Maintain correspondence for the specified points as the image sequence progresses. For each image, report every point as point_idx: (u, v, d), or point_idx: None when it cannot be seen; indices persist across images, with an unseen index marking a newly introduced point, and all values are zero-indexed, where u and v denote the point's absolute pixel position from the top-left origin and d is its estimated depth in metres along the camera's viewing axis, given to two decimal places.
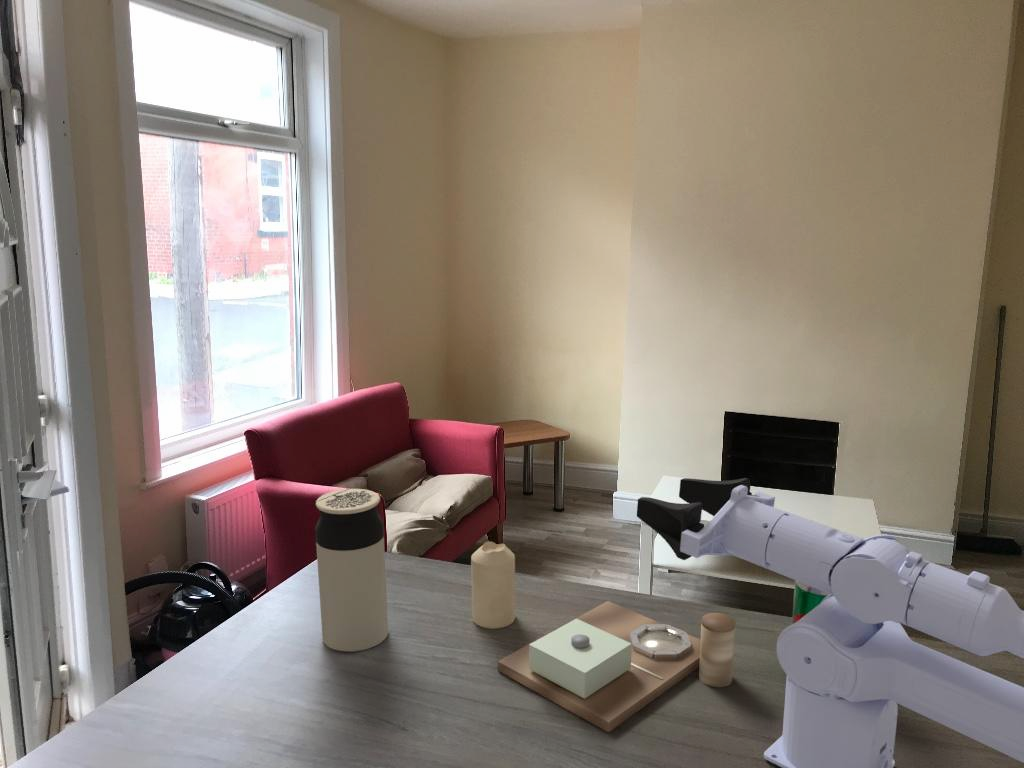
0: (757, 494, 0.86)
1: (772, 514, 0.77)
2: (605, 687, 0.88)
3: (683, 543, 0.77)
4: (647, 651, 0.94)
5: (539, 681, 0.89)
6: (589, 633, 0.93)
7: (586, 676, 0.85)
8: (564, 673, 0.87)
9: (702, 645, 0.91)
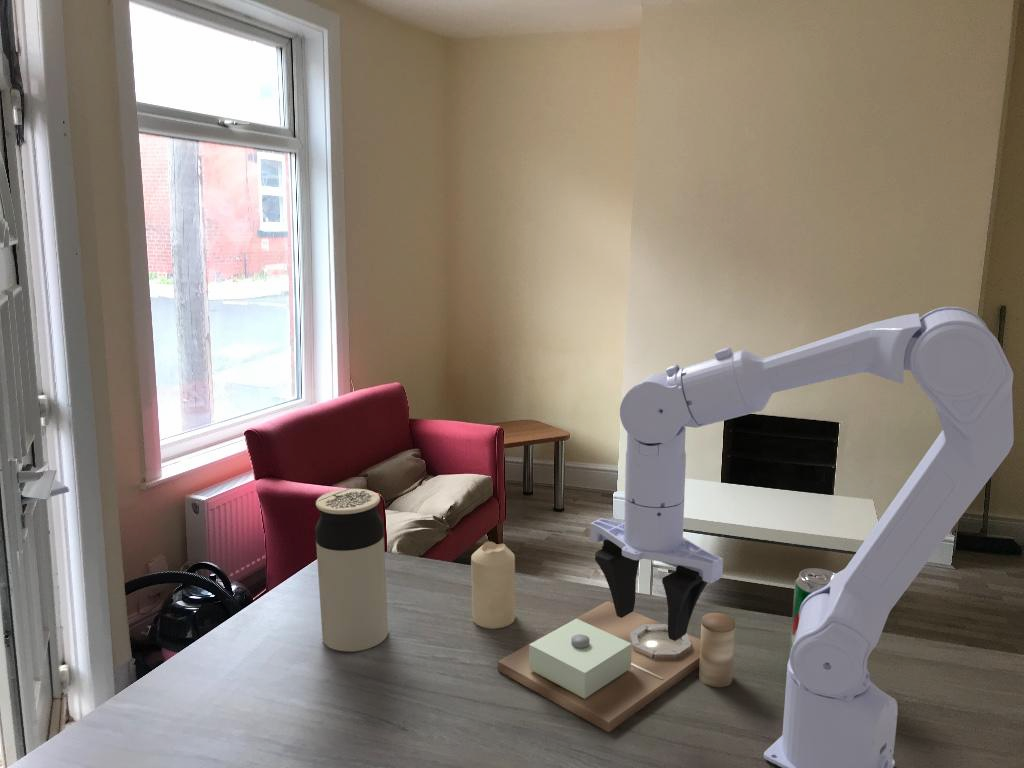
0: (596, 539, 0.85)
1: (643, 514, 0.78)
2: (605, 687, 0.88)
3: (717, 577, 0.76)
4: (647, 651, 0.94)
5: (539, 681, 0.89)
6: (589, 633, 0.93)
7: (586, 676, 0.85)
8: (564, 673, 0.87)
9: (702, 645, 0.91)
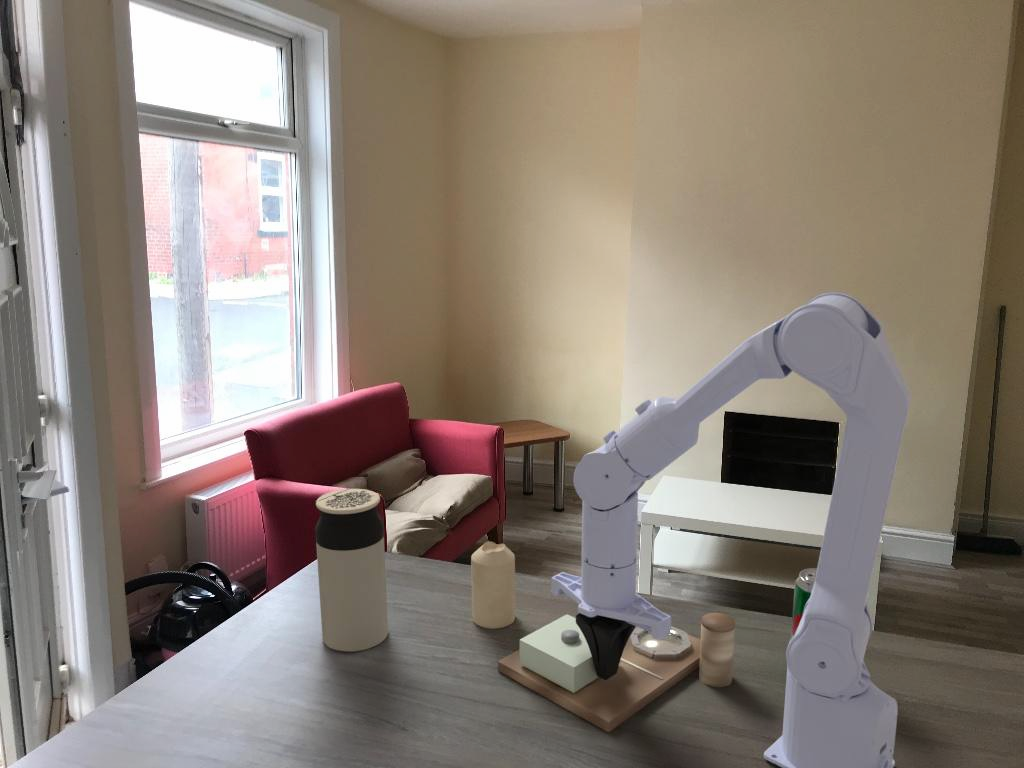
0: (556, 593, 0.91)
1: (597, 574, 0.83)
2: (605, 687, 0.88)
3: (665, 634, 0.82)
4: (647, 651, 0.94)
5: (539, 681, 0.89)
6: (579, 628, 0.94)
7: (575, 670, 0.86)
8: (554, 668, 0.88)
9: (702, 645, 0.91)
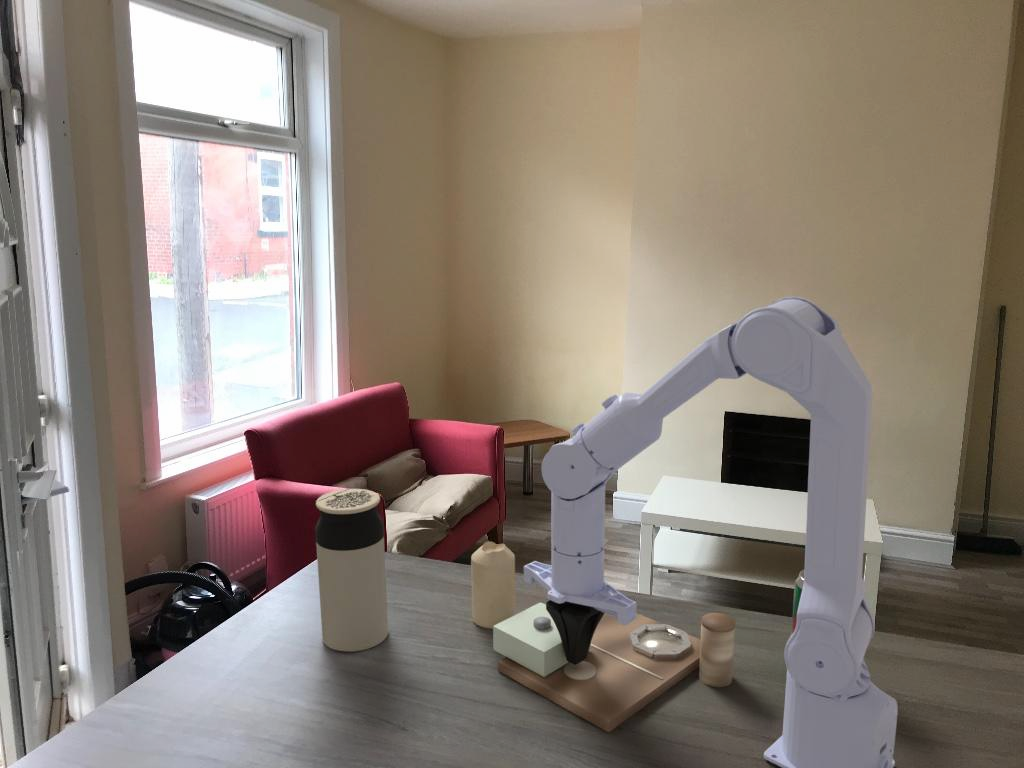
0: (528, 581, 0.93)
1: (565, 562, 0.86)
2: (605, 687, 0.88)
3: (631, 619, 0.85)
4: (647, 651, 0.94)
5: (539, 681, 0.89)
6: None
7: (546, 655, 0.89)
8: (525, 653, 0.91)
9: (702, 645, 0.91)
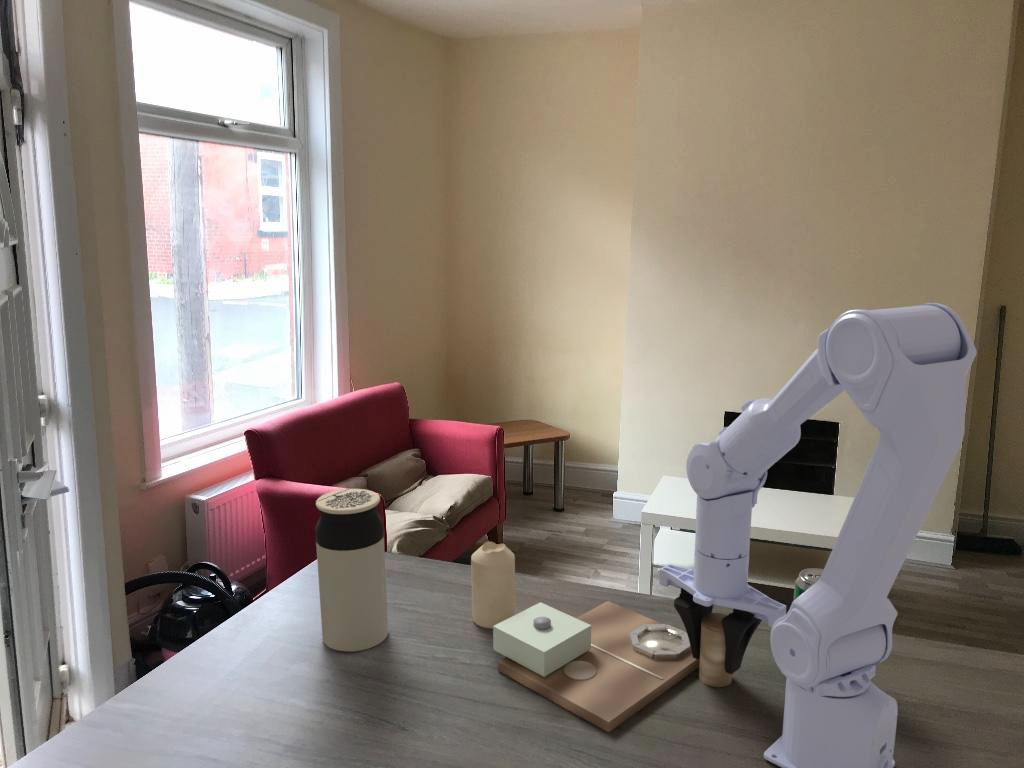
0: (665, 584, 0.94)
1: (713, 565, 0.86)
2: (605, 687, 0.88)
3: None
4: (647, 651, 0.94)
5: (539, 681, 0.89)
6: (551, 616, 0.97)
7: (546, 655, 0.89)
8: (525, 653, 0.91)
9: (702, 645, 0.91)
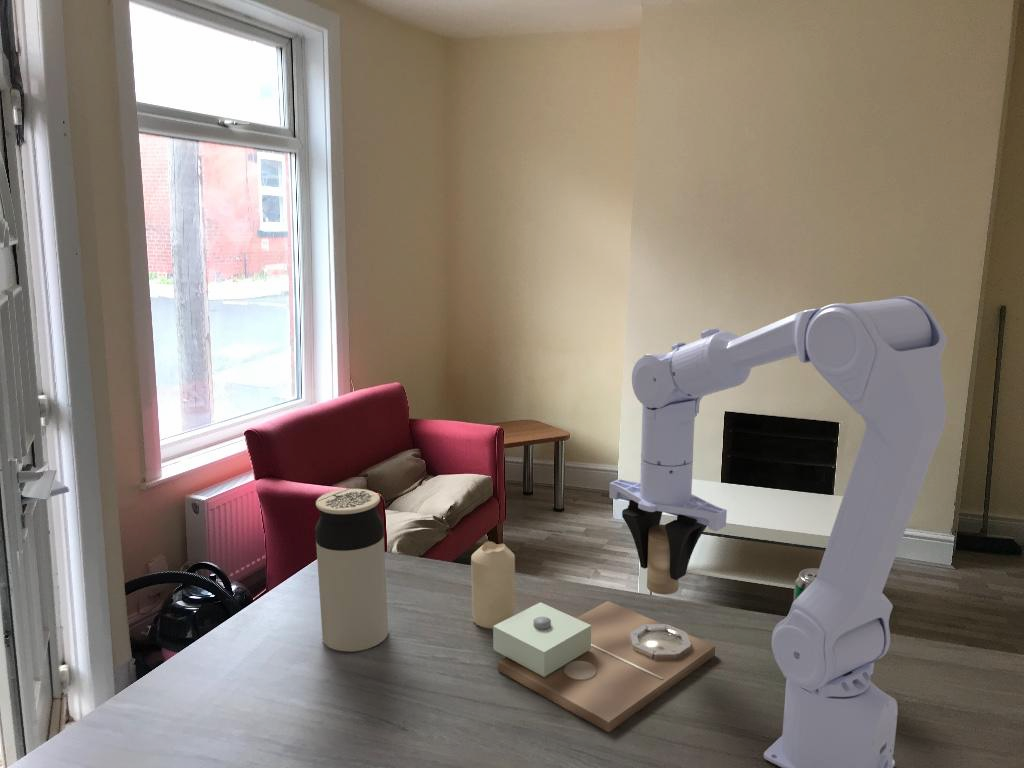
0: (614, 497, 0.97)
1: (657, 472, 0.90)
2: (605, 687, 0.88)
3: (721, 525, 0.88)
4: (647, 651, 0.94)
5: (539, 681, 0.89)
6: (551, 616, 0.97)
7: (546, 655, 0.89)
8: (525, 653, 0.91)
9: (649, 554, 0.94)
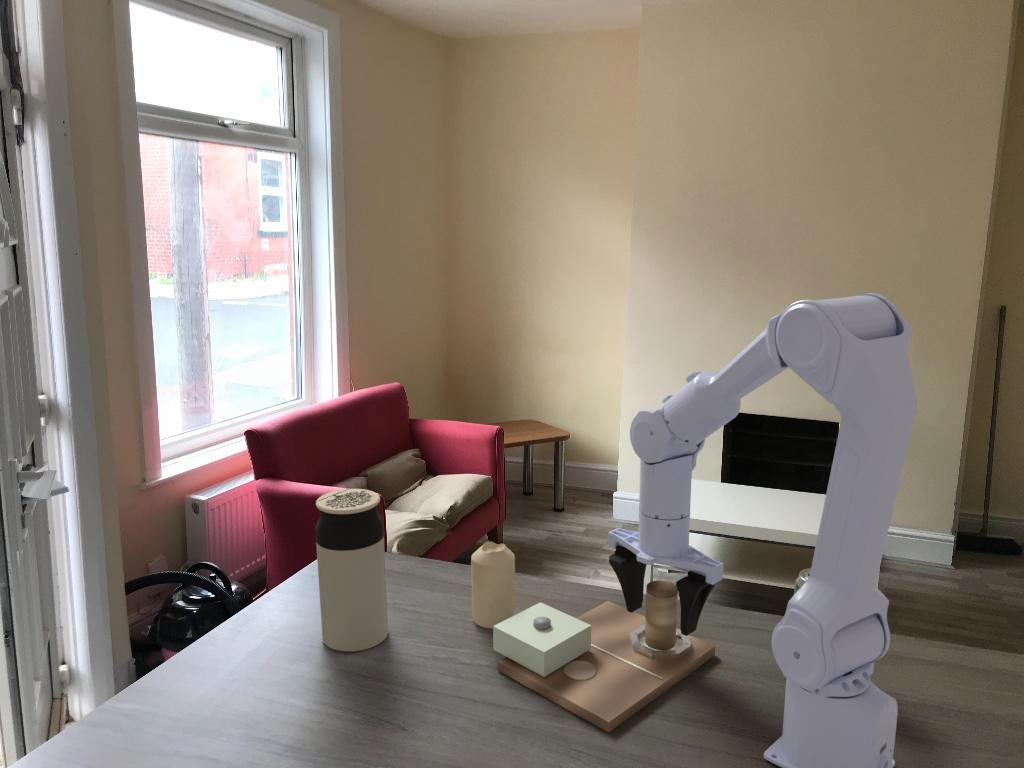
0: (613, 546, 0.98)
1: (655, 525, 0.91)
2: (605, 687, 0.88)
3: (718, 579, 0.90)
4: (647, 651, 0.94)
5: (539, 681, 0.89)
6: (551, 616, 0.97)
7: (546, 655, 0.89)
8: (525, 653, 0.91)
9: (647, 610, 0.95)
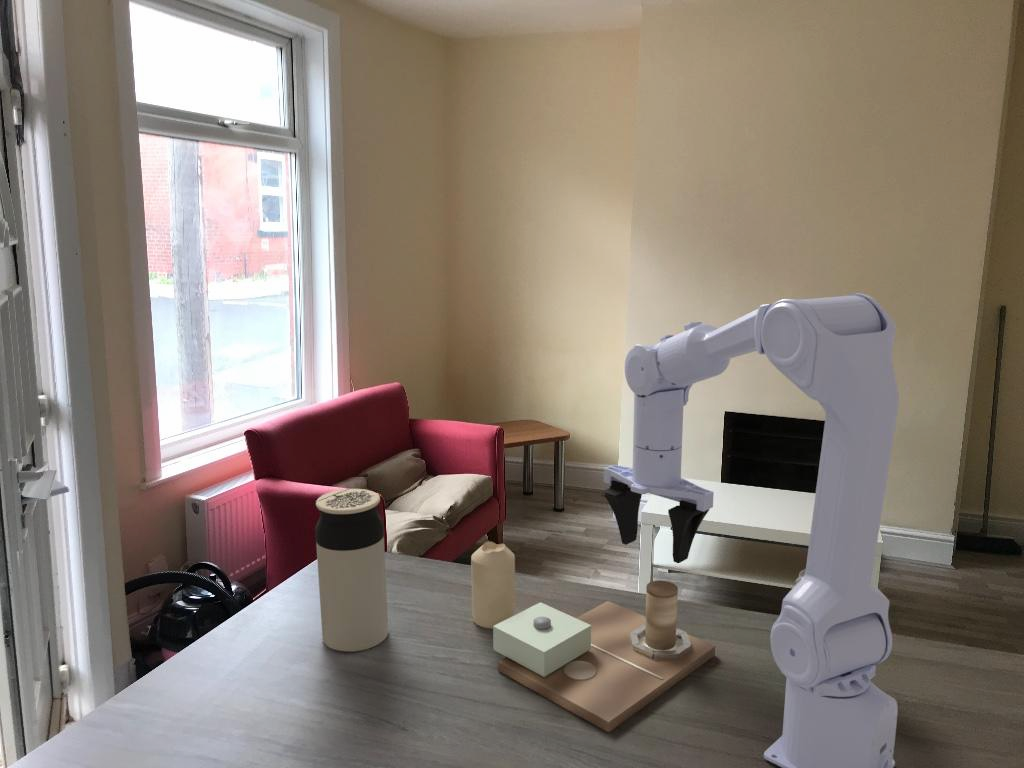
0: (608, 481, 1.02)
1: (648, 456, 0.95)
2: (605, 687, 0.88)
3: (708, 506, 0.94)
4: (647, 651, 0.94)
5: (539, 681, 0.89)
6: (551, 616, 0.97)
7: (546, 655, 0.89)
8: (525, 653, 0.91)
9: (647, 610, 0.95)
